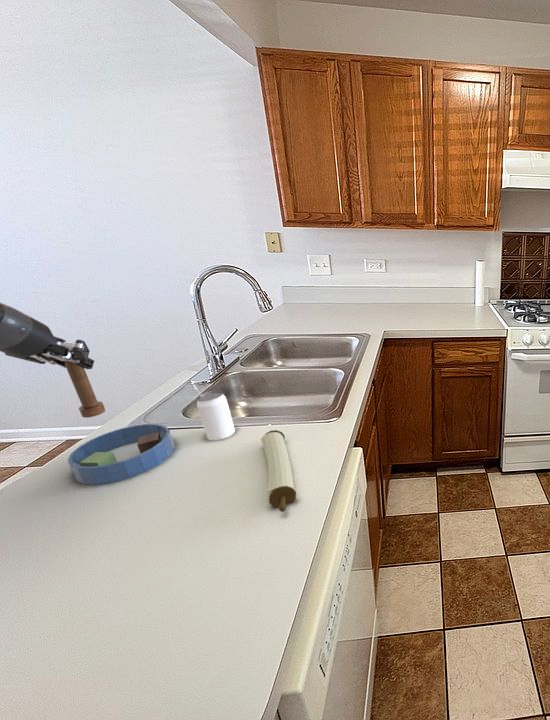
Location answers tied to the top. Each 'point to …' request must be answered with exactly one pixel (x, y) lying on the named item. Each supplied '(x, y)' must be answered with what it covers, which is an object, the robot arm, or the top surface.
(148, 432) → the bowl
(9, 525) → the top surface
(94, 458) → the block sage
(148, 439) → the block walnut
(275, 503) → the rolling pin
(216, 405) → the can
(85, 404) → the brown wooden rod
